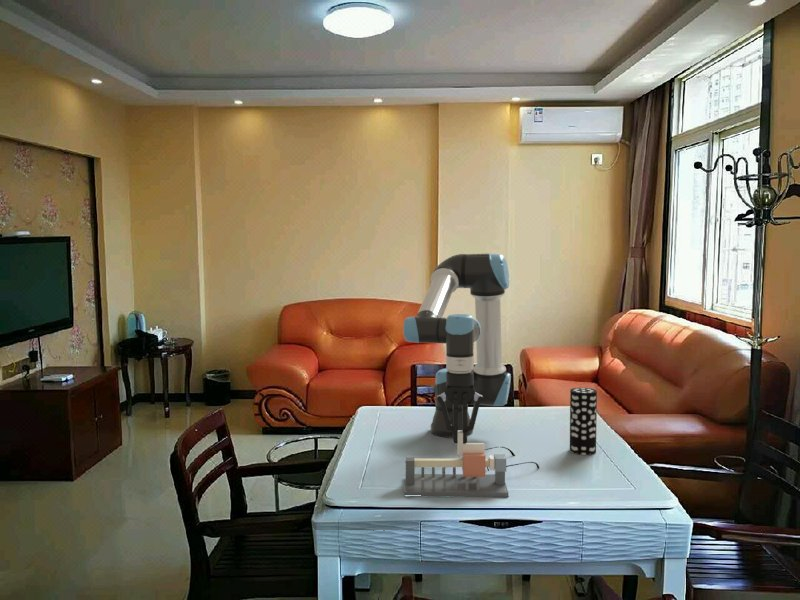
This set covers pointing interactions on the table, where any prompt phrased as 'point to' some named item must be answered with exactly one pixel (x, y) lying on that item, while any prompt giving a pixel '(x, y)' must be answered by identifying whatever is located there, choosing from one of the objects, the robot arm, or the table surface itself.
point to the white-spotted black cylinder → (583, 420)
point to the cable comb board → (453, 483)
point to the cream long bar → (493, 462)
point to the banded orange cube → (473, 460)
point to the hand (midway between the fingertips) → (460, 454)
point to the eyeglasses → (514, 455)
